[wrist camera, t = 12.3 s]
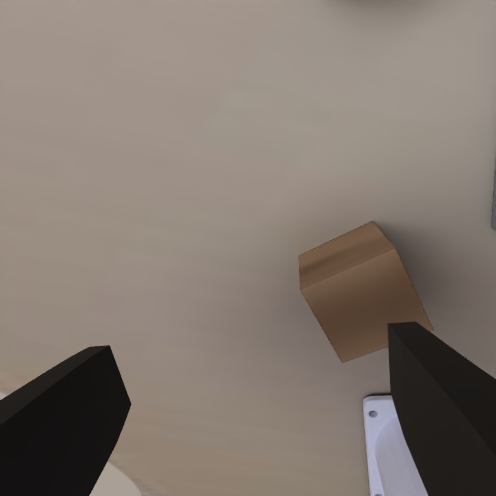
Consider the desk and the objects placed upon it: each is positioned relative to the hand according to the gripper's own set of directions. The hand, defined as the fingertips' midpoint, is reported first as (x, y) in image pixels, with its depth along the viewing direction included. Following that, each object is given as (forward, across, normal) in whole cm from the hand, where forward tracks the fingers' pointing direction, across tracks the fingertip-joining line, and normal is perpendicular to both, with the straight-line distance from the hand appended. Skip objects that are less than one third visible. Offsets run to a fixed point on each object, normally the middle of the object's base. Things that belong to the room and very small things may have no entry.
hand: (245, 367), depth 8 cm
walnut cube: (+10, -4, +2) cm, 10 cm away
